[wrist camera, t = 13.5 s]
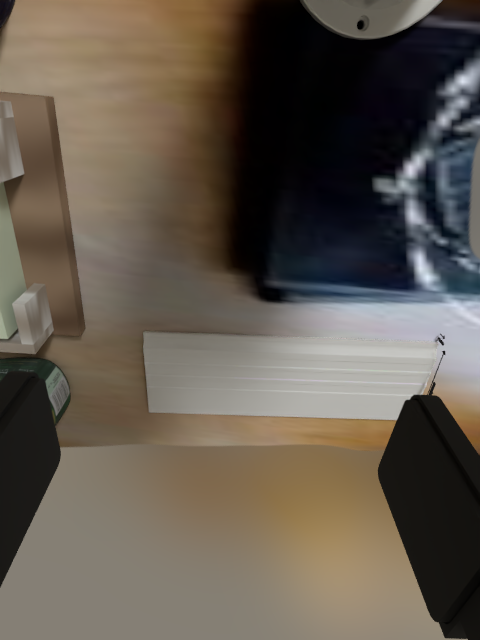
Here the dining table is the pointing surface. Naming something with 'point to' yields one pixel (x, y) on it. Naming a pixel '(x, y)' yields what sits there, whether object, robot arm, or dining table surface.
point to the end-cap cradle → (38, 223)
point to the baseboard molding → (284, 375)
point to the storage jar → (5, 10)
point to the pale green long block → (8, 269)
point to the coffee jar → (49, 373)
